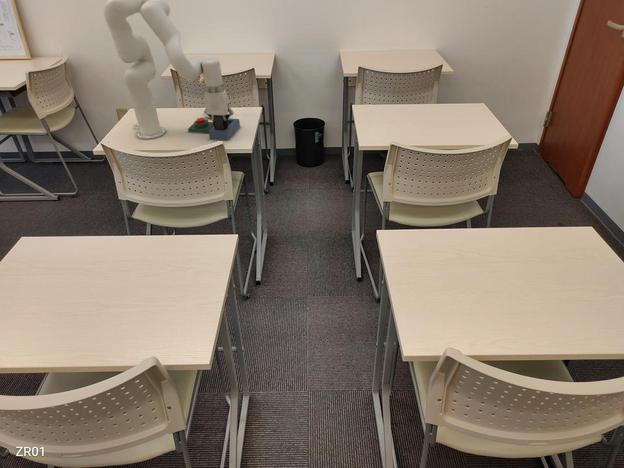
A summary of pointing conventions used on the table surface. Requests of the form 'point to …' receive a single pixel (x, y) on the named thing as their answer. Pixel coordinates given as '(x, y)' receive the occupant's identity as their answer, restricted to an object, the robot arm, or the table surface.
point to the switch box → (201, 127)
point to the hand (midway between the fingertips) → (221, 127)
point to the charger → (219, 122)
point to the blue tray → (226, 133)
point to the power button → (200, 120)
